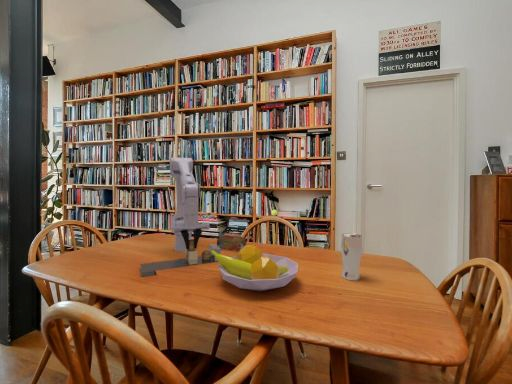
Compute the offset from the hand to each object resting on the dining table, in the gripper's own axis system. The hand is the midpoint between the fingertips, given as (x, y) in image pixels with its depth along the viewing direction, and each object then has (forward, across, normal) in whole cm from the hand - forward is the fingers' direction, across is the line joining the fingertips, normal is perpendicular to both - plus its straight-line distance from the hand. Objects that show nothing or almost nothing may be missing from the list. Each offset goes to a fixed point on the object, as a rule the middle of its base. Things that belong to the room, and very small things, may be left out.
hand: (191, 248), depth 106 cm
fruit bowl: (+7, +16, -26) cm, 31 cm away
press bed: (+7, -3, 0) cm, 8 cm away
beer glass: (+7, +48, -37) cm, 61 cm away
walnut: (+5, +6, 0) cm, 8 cm away
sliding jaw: (+5, 0, 0) cm, 5 cm away
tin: (+7, +21, +9) cm, 24 cm away
